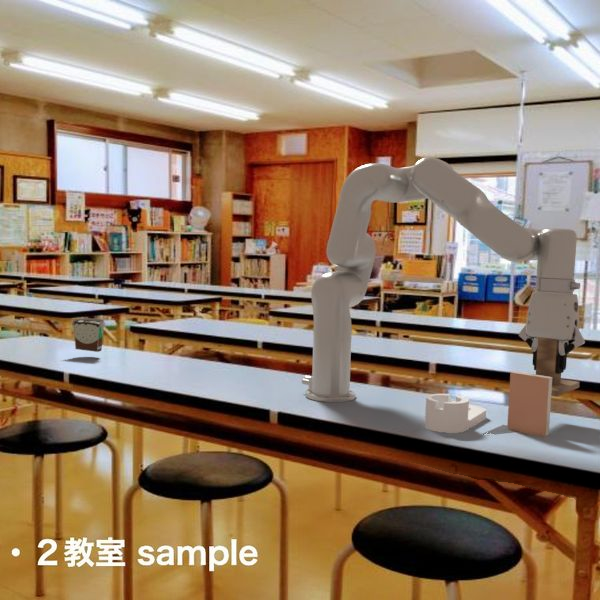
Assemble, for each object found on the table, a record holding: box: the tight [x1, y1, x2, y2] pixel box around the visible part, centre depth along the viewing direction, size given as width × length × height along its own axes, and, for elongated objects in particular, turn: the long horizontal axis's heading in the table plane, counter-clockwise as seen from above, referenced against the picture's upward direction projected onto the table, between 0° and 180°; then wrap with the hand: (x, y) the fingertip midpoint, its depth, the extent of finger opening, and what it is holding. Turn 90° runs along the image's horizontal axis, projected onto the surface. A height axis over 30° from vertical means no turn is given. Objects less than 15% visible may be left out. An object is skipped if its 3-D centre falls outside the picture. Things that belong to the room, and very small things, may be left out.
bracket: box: [424, 393, 487, 434], centre depth 146 cm, size 20×9×7 cm, turn 147°
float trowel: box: [535, 337, 580, 398], centre depth 146 cm, size 9×13×11 cm
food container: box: [71, 317, 107, 353], centre depth 226 cm, size 12×6×10 cm, turn 65°
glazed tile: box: [507, 370, 552, 437], centre depth 139 cm, size 8×2×12 cm, turn 49°
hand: (548, 370), depth 146 cm, fingers closed on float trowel, 4 cm apart
